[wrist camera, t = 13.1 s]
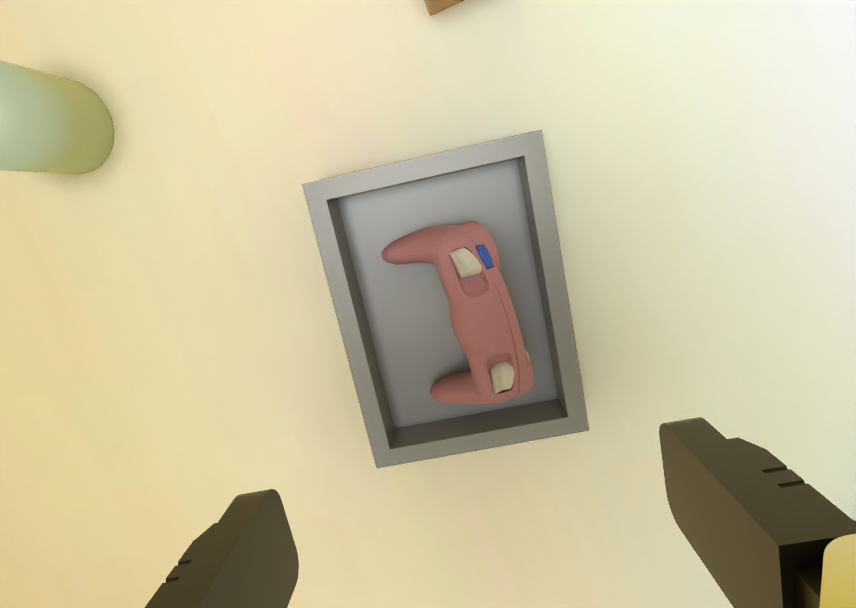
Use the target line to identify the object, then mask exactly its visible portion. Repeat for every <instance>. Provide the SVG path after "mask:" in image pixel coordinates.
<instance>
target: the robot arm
mask: <svg viewBox="0 0 856 608" xmlns="http://www.w3.org/2000/svg"><path fill="white" fill-rule="evenodd" d="M659 435H660V444H661V452H662V460H663V468H664V476H665V484H666V492H667V498H668V502H669V505H670V508H671V511H672V514H673V516H674V519H675V521H676V523H677V525H678V526H679V528H680V530H681V531H682V532H683V534H684V535H685V537H686V538H687V540H688V541H689V543H690V544H691V546H692V547H693V549H694V550H695V551H696V553H697V554H698V556H699V557H700V559H701V560H702V562H703V563H704V565H705V566H706V568H707V569H708V571H709V572H710V573H711V575H712V576H713V578H714V579H715V581H716V582H717V584H718V585H719V587H720V588H721V590H722V591H723V592H724V594H725V595H726V597H727V598H728V600H729V601H730V603H731V604H732V606H733V607H734V608H856V522H854V521H853V520H852V519H851V518H850V517H848V516H847V515H846V514H845V513H843V512H842V511H841V510H840V509H839V508H837V507H836V506H835V505H834V504H832V503H831V502H830V501H829V500H827V499H826V498H825V497H824V496H823V495H821V494H820V493H819V492H818V491H816V490H815V489H814V488H813V487H812V486H810V485H809V484H805V483H804V480H803V479H802V478H801V477H799V476H798V475H797V474H796V473H794V472H793V471H792V470H791V469H790V470H788V469H787V466H786V465H785V464H783V463H782V462H781V461H780V460H778V459H777V458H776V457H775V456H774V455H772V454H771V453H770V452H769V451H767V450H766V449H764V448H761V447H759V446H757V445H754V444H752V443H750V442H747V441H745V440H743V439H740V438H733V439H726V438H725V437H724V436H723V435H721V434H720V433H719V432H718V431H717V430H716V429H715V428H714V427H713V426H711V425H710V424H709V423H708V422H707V421H706V420H705V419H703V418H701V417H699V418H693V419H687V420H681V421H675V422H669V423H663V424H661V426H660V430H659ZM298 569H299V564H298V554H297V550H296V546H295V543H294V540H293V537H292V533H291V530H290V527H289V523H288V520H287V517H286V514H285V510H284V507H283V504H282V501H281V498H280V496H279V494H278V492H277V491H276V490H274V489H270V490H264V491H258V492H252V493H247V494H241V495H238V496H237V497H236V498H235V499H234V500H233V502H232V503H231V504H230V506H229V507H228V509H227V510H226V512H225V513H224V515H223V516H222V517H221V519H220V520H219V522H218V523H214V524H213V525H212V526H211V527H210V528H208V529H207V530H206V531H205V532H204V533H203V534H201V535H200V536H199V537H198V538H197V539H196V540H194V541H193V542H192V544H191V545H190V546H189V548H188V549H187V550H186V552H185V553H184V555H183V556H182V557H181V559H180V560H179V561H178V566H175V567H174V568H173V570H172V571H171V572H170V574H169V575H168V576H167V578H166V583H162V585H161V586H160V587H159V589H158V590H157V592H156V593H155V594H154V596H153V597H152V598H151V600H150V601H149V602H148V604H147V605H146V607H145V608H287V606H288V604H289V601H290V599H291V596H292V594H293V591H294V588H295V586H296V583H297V578H298Z"/></svg>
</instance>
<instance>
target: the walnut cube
mask: <svg viewBox="0 0 856 608" xmlns="http://www.w3.org/2000/svg"><path fill="white" fill-rule="evenodd" d="M462 1H464V0H425V3H426V6H427V9H428V11H429V14H430V16H431V15H433V14H436V13H438V12H440V11H442V10H444V9H446V8H449V7H451V6H453V5H455V4H457V3H459V2H462Z"/></svg>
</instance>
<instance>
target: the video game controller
mask: <svg viewBox="0 0 856 608" xmlns="http://www.w3.org/2000/svg"><path fill="white" fill-rule="evenodd" d="M381 256H382V259H383V260H384V261H386V262H388V263H391V264H395V265H400V264H410V263H429V264H433V265H435V267H436V269H437V271H438V274H439V277H440V280H441V283H442V285H443V288H444V290H445V293H446V296H447V298H448V301H449V309H450V318H451V325H452V328H453V331H454V334H455V337H456V338H457V340H458V342H459V344H460V345H461V347H462V348H463V350H464V351H465V353H466V355H467V358H468V362H469V365H470V369H471V370H470V371H466V372H462V373H457V374H454V375H451V376H448V377H445V378H443V379H441V380H439V381H437V382H436V383H434V384H433V385H432V387H431V389H430V395H431V396H432V398H433V399H434V400H436V401H438V402H441V403H445V404H492V403H498V402H503V401H506V400H512V399H515V398H516V397H518V396H520V395H522V394H524V393H525V392H527V391H529V390H530V389H531V388H532V386H533V380H534V376H533V370H532V366H531V364H530V358H529V354H528V353H527V351H526V350H525V349H524V345H523V339H522V335H521V331H520V328H519V324H518V320H517V316H516V313H515V310H514V307H513V304H512V301H511V298H510V296H509V293H508V290H507V288H506V285H505V283H504V280H503V278H502V276H501V274H500V259H499V254H498V251H497V248H496V245H495V243H494V241H493V239H492V237H491V236H490V234H489V232H488V231H487V230H486V229H485V228H484V227H483V226H482V225H481V224H480V223H478V222H476V221H467V222H464V223H462V224H459V225H440V226H432V227H427V228H423V229H421V230H418V231H415V232H413V233H410V234H408V235H406V236H403V237H401V238H399V239H397V240H395V241H393V242H391V243H390V244H389V245H388V246H386V247H385V248H384V249H383V251H382V254H381Z"/></svg>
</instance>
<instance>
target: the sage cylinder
mask: <svg viewBox="0 0 856 608" xmlns="http://www.w3.org/2000/svg"><path fill="white" fill-rule="evenodd" d="M113 142H114V127H113V122H112V118H111V116H110V113H109V111H108V109H107V107H106V106H105V104H104V103H103V101H102V100H101V99H100V98H99V97H98V95H96V94H95V93H94V92H93V91H92V90H90V89H89V88H87V87H86V86H84V85H82V84H79V83H77V82H73V81H70V80H66V79H63V78H60V77H56V76H53V75H49V74H46V73H43V72H39V71H36V70H32V69H29V68H25V67H22V66H19V65H15V64H12V63H8V62H5V61H1V60H0V171H22V172H44V173H67V174H82V173H87V172H90V171H93V170H95V169H96V168H98V167H99V166H101V165H102V164H103V163H104V162H105V160H106V159H107V158H108V156H109V154H110V152H111V150H112V146H113Z"/></svg>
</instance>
